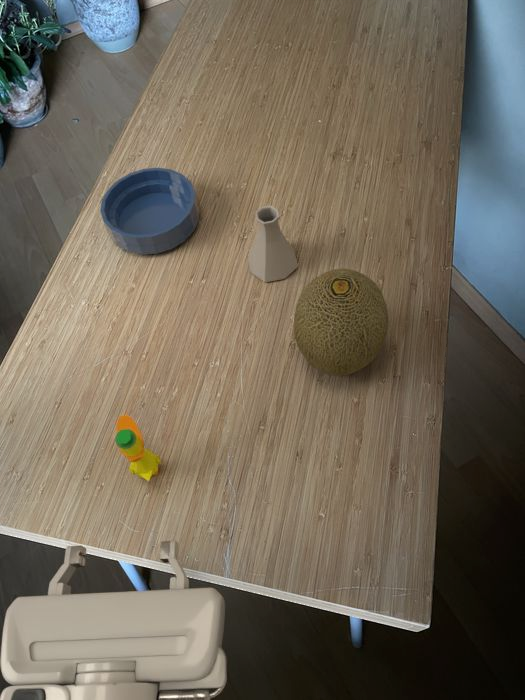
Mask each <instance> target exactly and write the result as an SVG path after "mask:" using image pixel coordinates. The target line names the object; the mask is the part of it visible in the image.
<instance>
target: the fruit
mask: <svg viewBox="0 0 525 700" xmlns="http://www.w3.org/2000/svg"><path fill="white" fill-rule="evenodd" d="M299 295H300V296H299V297H298V299H297V302H296V306H295V311H294V317H293V333H294V340H295V341H296V344H297V347H298V349H299V352H300V353H301V354H302V356H303V358H304V359H305V360H306V361H307V362H308V364H309V365H310V366H311V367H313V368H314V369H316V370H318V371H320V372H322V373H324V374H326V375H331V376H335V377H341V376H342V377H344V376H348V375H351V374H354V373H356V372H358V371H360V370H361V369H364V368H365V367H366V366H368V365H369V364H370V363H371V362H372V361H373V360H375V359H376V357H378V355H379V354H380V352H381V351H382V349H383V346H384V344H385V340H386V337H387V334H388V328H389V324H390V323H389V310H388V307H387V303H386V300H385V297H384V295H383V292H382V290H381V289H380V288H379V286H378V285H377V283H376V282H374V280H372V279H371V278H370V277H369V276H368V275H366V274H364V273H362V272H361V271H358V270H354V269H350V268H335V269H331V270H328V271H325V272H323V273H321V274H319V275H317V276H315V277H314V278H312V279H311V281H310V282H309V283H308V284H307V285H305V287H304V289H303V290H302V292H301V293H300V294H299Z"/></svg>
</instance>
